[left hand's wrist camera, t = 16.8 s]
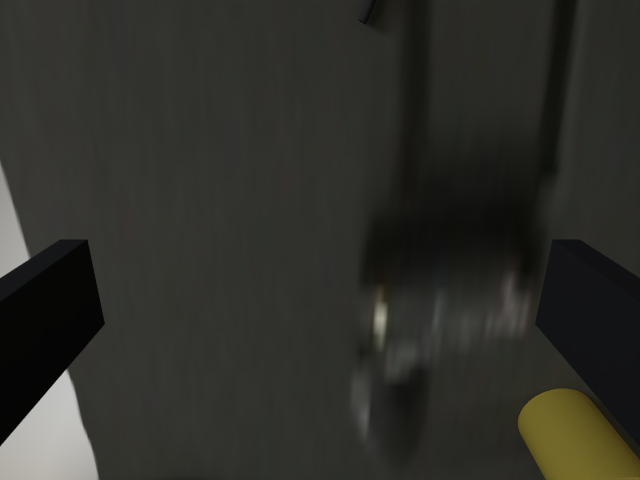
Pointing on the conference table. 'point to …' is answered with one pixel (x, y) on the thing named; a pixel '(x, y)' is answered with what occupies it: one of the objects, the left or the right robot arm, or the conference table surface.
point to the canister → (574, 439)
